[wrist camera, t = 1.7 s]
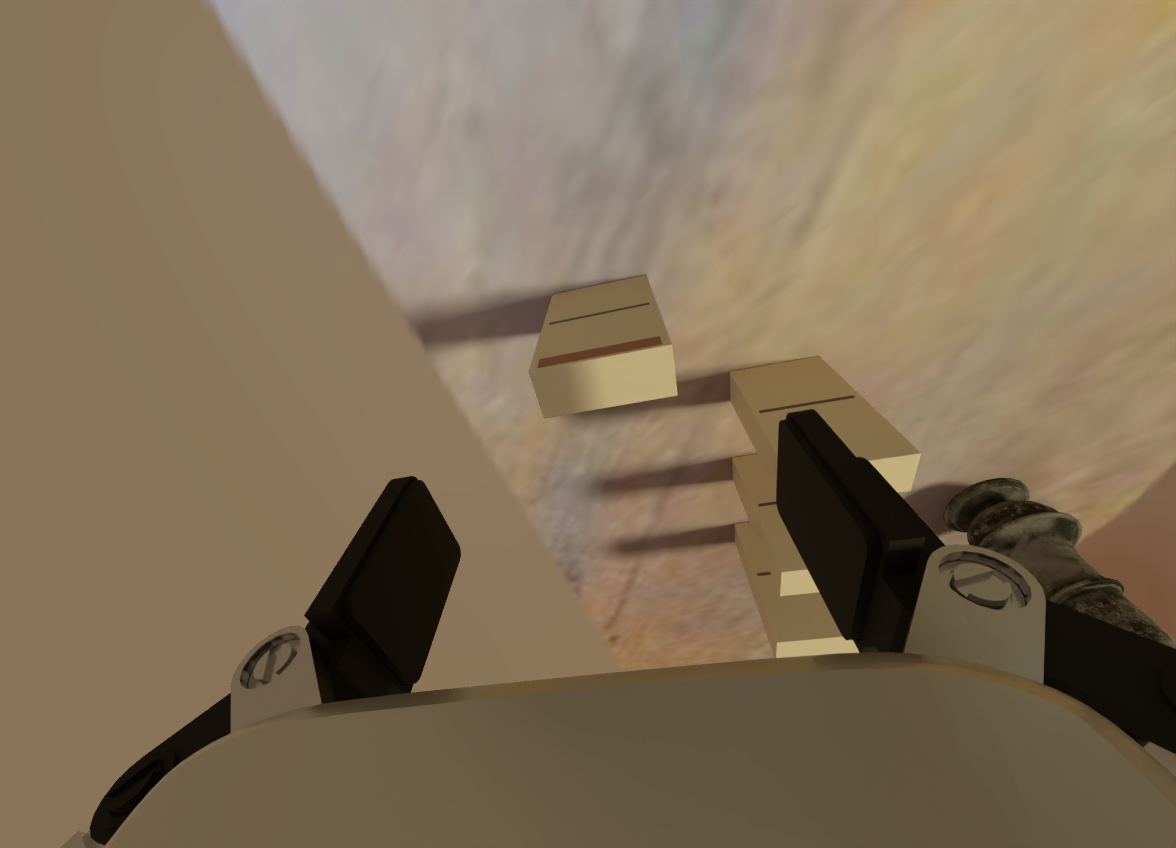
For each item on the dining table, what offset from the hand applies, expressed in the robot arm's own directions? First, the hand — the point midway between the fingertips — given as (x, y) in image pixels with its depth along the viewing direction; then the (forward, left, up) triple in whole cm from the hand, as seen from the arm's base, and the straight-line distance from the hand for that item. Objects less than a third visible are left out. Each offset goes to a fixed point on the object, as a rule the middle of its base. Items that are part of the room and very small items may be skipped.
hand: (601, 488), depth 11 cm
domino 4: (+19, +9, -14) cm, 25 cm away
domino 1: (0, 0, -14) cm, 14 cm away
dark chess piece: (+20, +24, -14) cm, 34 cm away
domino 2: (+6, +9, -14) cm, 18 cm away
